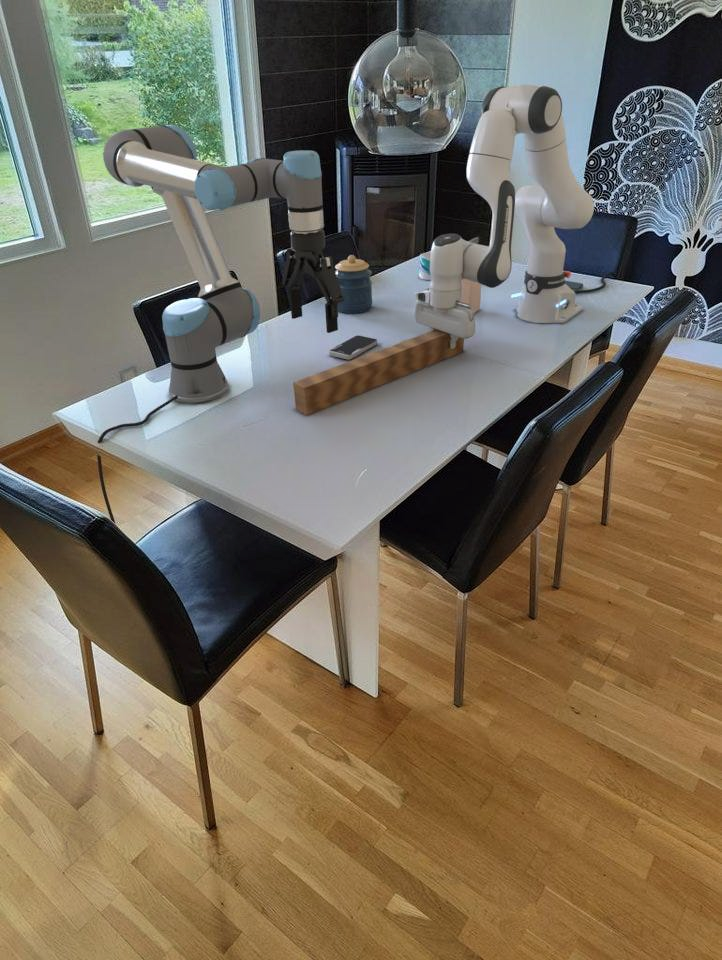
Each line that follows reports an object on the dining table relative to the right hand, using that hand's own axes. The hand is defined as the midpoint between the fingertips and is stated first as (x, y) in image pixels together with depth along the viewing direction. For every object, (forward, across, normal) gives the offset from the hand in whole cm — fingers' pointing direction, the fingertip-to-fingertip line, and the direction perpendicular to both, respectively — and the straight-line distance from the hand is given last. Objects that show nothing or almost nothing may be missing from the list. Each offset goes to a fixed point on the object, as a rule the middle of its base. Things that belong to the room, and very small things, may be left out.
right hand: (443, 345), depth 191 cm
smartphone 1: (+3, +22, +16) cm, 27 cm away
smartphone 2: (+3, +13, -75) cm, 76 cm away
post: (+3, 0, +22) cm, 23 cm away
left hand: (-18, 0, +45) cm, 48 cm away
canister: (+3, +50, -9) cm, 51 cm away
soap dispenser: (+3, +21, -34) cm, 40 cm away
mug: (+3, +57, -54) cm, 79 cm away
